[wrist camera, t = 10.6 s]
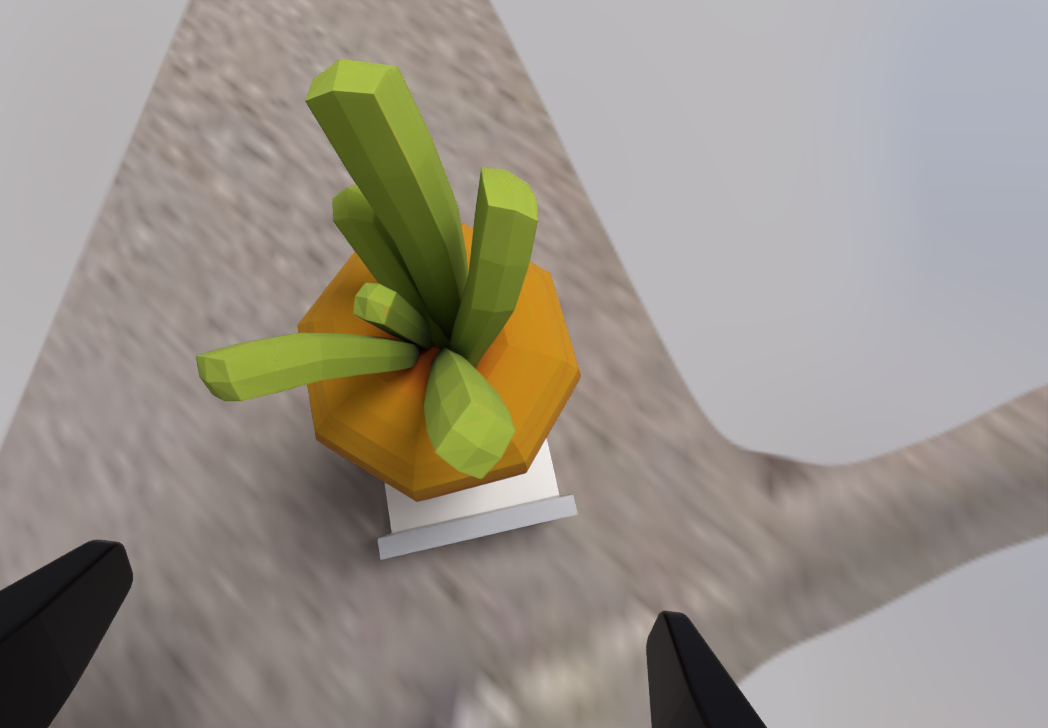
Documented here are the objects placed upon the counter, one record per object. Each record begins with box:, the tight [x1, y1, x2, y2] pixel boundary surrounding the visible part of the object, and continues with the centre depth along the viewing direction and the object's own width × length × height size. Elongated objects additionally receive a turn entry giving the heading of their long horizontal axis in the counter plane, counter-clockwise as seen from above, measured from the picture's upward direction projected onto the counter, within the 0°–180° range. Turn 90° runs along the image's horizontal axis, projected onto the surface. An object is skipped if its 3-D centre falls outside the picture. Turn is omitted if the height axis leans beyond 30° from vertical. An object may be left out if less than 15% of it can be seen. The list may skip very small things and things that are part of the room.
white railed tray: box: [378, 438, 577, 560], centre depth 18 cm, size 7×6×4 cm
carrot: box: [196, 59, 581, 502], centre depth 11 cm, size 5×5×15 cm
